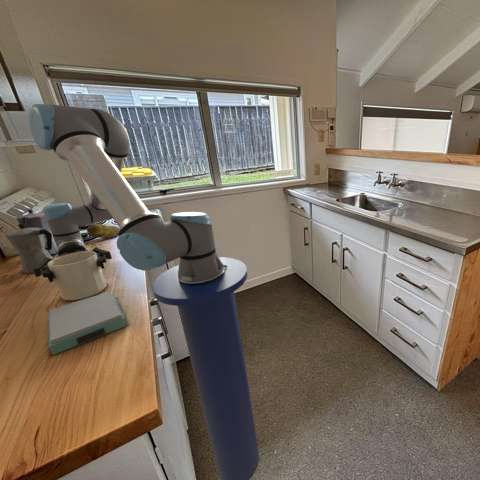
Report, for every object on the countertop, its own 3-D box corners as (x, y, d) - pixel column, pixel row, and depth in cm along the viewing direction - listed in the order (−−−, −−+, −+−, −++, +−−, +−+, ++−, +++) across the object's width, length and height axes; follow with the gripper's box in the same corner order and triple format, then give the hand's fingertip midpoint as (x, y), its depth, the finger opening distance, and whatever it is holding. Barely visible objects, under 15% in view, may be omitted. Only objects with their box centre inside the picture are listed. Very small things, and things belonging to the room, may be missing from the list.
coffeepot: (9, 274, 95) (-14, 228, 89) (34, 263, 104) (15, 220, 98) (53, 272, 96) (33, 226, 90) (73, 261, 105) (57, 219, 99)
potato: (123, 236, 134) (118, 222, 131) (91, 243, 126) (85, 227, 123) (120, 233, 140) (116, 219, 137) (90, 238, 131) (84, 224, 129)
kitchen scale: (115, 298, 79) (112, 289, 78) (127, 326, 66) (124, 316, 65) (51, 319, 70) (47, 309, 68) (52, 356, 57) (46, 345, 56)
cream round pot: (104, 280, 90) (93, 248, 86) (109, 291, 83) (98, 257, 79) (61, 292, 83) (47, 258, 79) (63, 306, 76) (47, 269, 71)
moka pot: (65, 246, 121) (49, 205, 114) (57, 257, 109) (38, 212, 102) (37, 251, 116) (18, 208, 109) (25, 263, 104) (3, 215, 97)
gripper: (115, 251, 101) (127, 269, 86) (29, 272, 85) (25, 297, 71) (110, 233, 98) (121, 248, 84) (19, 251, 83) (13, 273, 68)
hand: (77, 271), depth 77 cm, fingers closed on cream round pot, 11 cm apart
